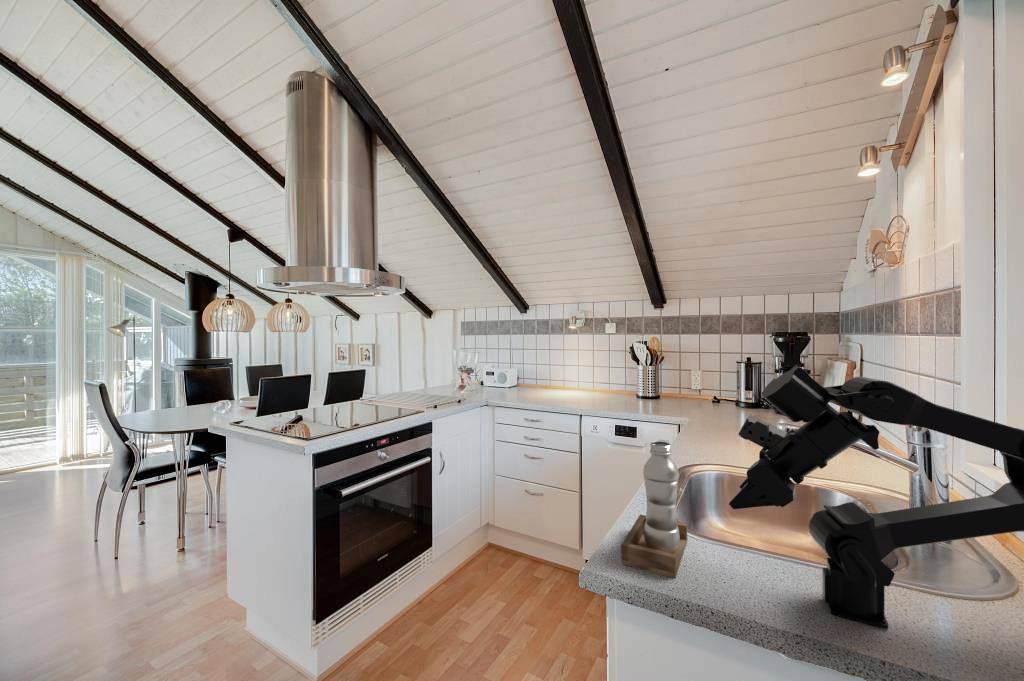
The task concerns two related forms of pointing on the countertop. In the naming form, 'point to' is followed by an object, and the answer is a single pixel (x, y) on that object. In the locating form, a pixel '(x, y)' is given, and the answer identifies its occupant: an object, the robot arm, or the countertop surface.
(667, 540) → the silver metal bottle
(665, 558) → the bottle stand
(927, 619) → the countertop surface
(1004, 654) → the countertop surface
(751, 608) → the countertop surface
